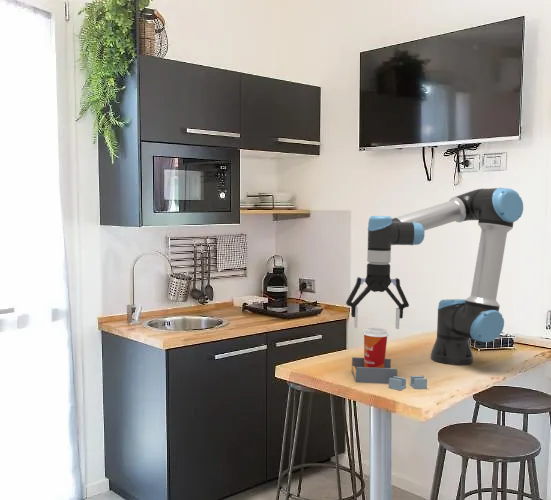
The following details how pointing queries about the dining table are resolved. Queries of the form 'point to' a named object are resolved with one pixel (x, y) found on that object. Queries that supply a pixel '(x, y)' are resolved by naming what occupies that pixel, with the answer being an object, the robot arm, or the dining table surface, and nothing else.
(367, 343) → the coffee cup
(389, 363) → the end holder
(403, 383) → the clip
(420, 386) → the clip
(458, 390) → the dining table surface
